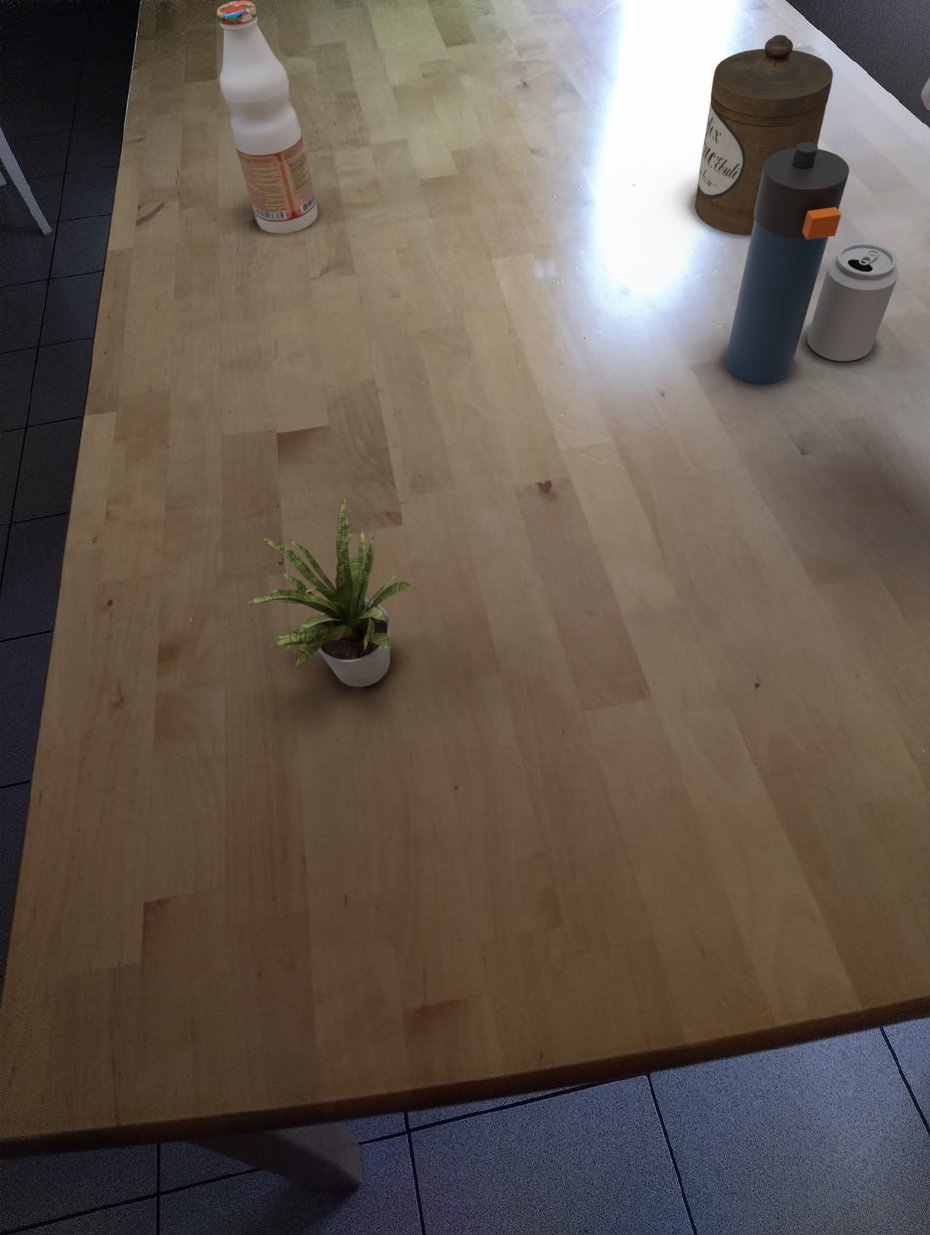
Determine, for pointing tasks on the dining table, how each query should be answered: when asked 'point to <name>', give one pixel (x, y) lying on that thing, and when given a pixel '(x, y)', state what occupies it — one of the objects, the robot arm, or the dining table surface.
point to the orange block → (821, 223)
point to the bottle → (782, 261)
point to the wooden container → (756, 126)
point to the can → (852, 301)
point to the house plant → (340, 611)
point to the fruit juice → (264, 124)
